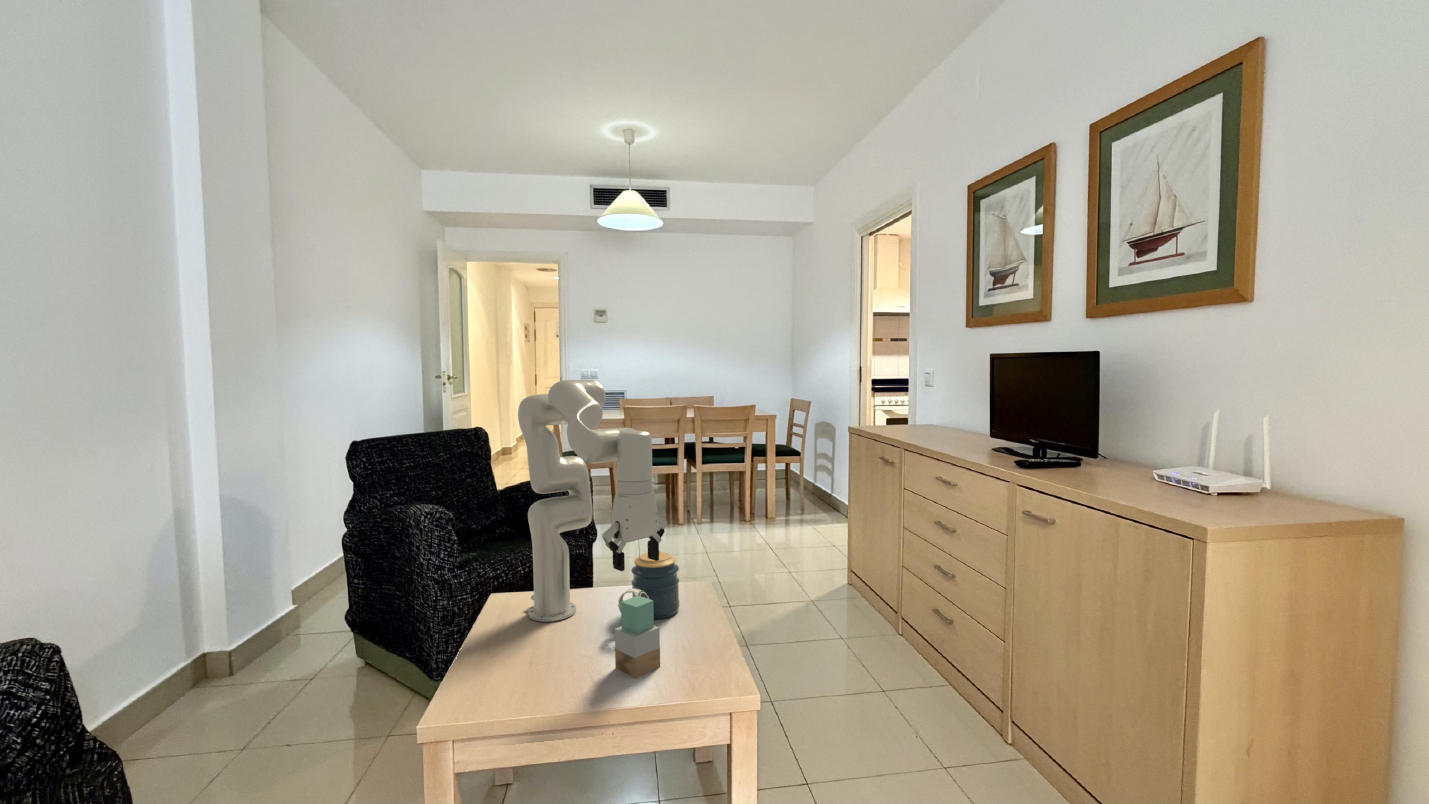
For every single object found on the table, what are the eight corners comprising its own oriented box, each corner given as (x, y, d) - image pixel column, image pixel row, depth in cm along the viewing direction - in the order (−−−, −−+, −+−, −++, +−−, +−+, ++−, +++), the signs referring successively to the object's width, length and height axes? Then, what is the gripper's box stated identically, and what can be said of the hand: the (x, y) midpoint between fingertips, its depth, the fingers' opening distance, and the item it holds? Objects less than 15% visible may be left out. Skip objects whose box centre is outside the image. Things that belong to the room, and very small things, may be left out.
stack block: (621, 628, 136) (621, 601, 135) (638, 621, 139) (638, 595, 139) (637, 634, 132) (636, 607, 132) (653, 627, 136) (653, 600, 136)
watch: (645, 639, 151) (645, 595, 150) (615, 636, 153) (614, 592, 152) (653, 630, 156) (653, 587, 156) (624, 627, 158) (623, 585, 158)
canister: (666, 599, 178) (665, 539, 177) (687, 614, 166) (686, 549, 166) (624, 608, 171) (623, 545, 170) (643, 624, 160) (642, 557, 159)
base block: (615, 668, 136) (615, 648, 136) (639, 657, 141) (639, 638, 141) (636, 679, 131) (635, 658, 131) (660, 667, 136) (659, 647, 136)
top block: (615, 648, 136) (614, 628, 136) (639, 638, 141) (639, 619, 141) (635, 658, 131) (634, 637, 131) (659, 647, 136) (659, 627, 136)
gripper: (654, 480, 143) (655, 552, 144) (592, 491, 131) (593, 570, 132) (676, 484, 138) (677, 559, 139) (613, 495, 126) (615, 577, 127)
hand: (636, 564), depth 135 cm, fingers open, 9 cm apart
